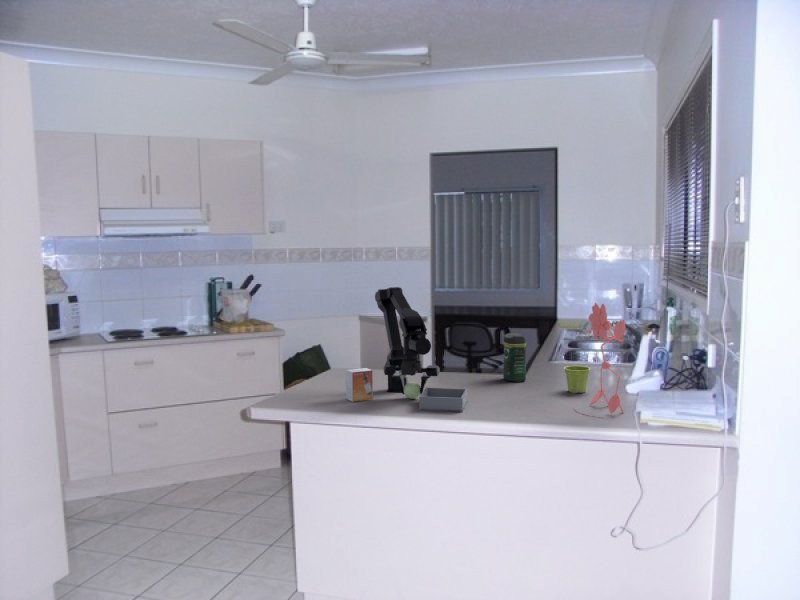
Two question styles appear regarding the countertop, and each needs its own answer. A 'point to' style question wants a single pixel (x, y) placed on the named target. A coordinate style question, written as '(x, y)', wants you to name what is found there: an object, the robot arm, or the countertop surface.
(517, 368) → the coffee jar
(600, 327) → the figurine
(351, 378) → the small box
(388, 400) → the countertop surface
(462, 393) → the bin
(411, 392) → the ball
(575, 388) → the plant pot
